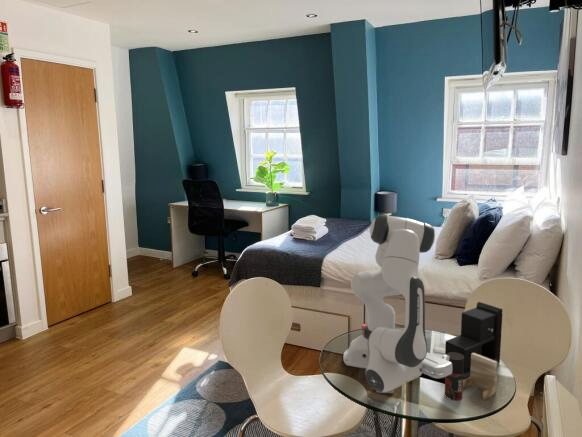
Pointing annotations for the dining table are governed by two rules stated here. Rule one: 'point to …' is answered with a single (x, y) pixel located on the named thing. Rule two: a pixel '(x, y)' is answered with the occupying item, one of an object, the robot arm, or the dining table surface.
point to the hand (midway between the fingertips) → (434, 352)
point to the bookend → (478, 335)
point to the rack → (482, 375)
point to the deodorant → (455, 377)
